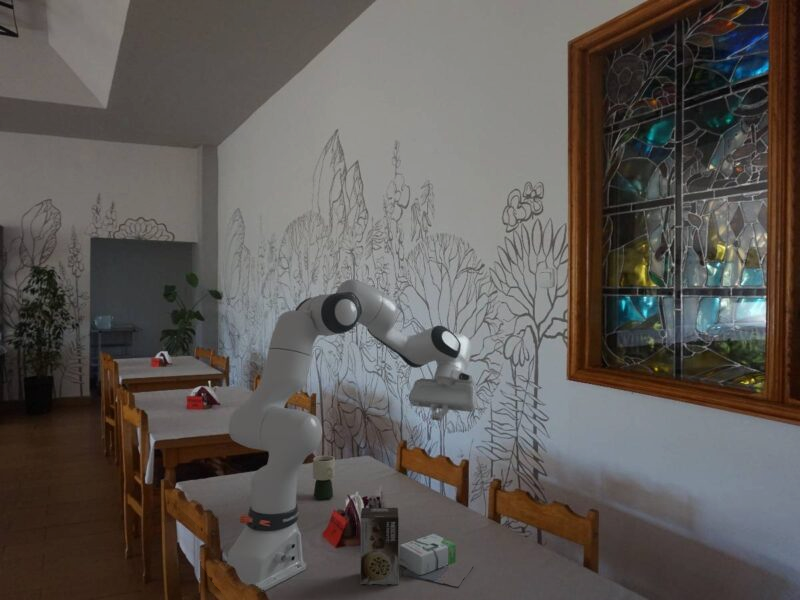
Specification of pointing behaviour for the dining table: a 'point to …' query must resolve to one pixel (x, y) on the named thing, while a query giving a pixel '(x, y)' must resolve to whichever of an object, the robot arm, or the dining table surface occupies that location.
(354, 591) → the dining table surface
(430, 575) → the felt mat
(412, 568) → the ink box
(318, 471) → the character mug
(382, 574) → the coffee box
